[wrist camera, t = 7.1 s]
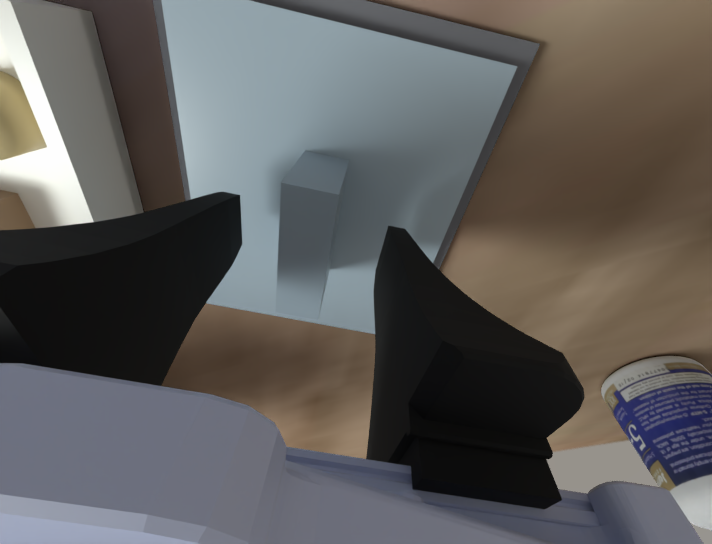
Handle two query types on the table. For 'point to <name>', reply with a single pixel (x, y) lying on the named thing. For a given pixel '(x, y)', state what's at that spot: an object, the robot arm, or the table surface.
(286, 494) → the robot arm
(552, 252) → the table surface
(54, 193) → the storage box
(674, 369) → the pill bottle
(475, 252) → the table surface
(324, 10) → the mat
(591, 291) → the table surface
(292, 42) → the lid
